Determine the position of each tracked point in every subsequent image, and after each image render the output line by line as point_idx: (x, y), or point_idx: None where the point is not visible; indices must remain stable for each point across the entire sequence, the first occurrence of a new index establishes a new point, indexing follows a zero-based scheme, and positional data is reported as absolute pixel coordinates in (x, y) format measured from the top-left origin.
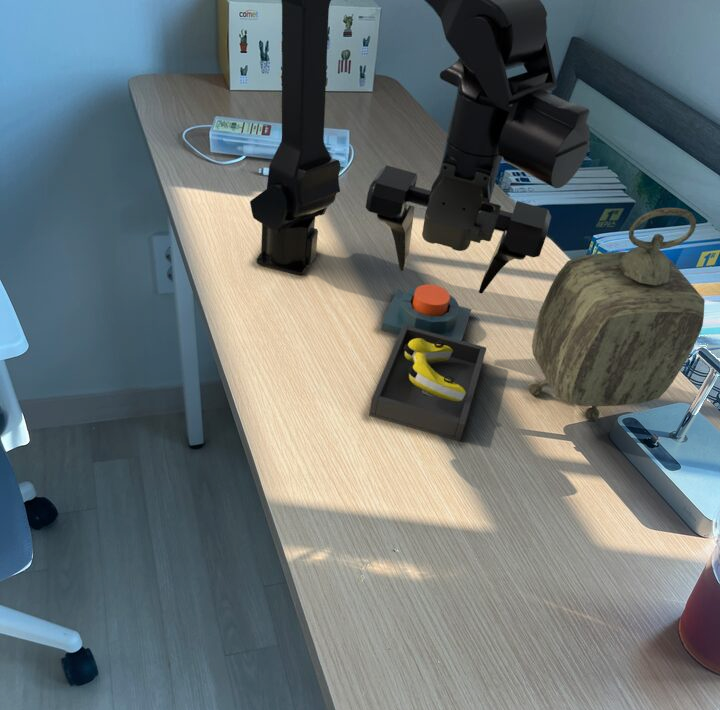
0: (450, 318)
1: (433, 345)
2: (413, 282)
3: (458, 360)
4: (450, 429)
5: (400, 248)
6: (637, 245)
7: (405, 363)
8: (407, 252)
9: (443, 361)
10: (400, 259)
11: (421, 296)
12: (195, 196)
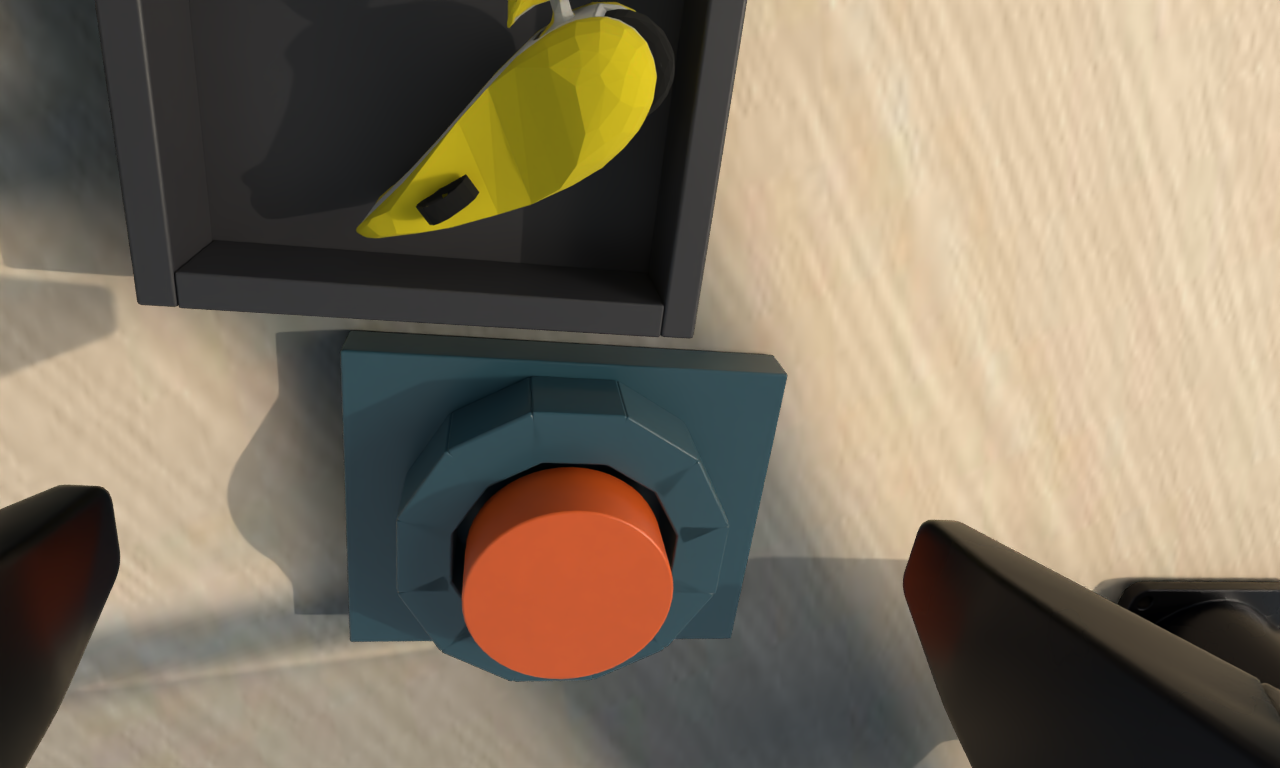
0: (429, 482)
1: (483, 196)
2: (654, 724)
3: (322, 232)
4: None
5: (1176, 666)
6: None
7: None
8: (988, 694)
9: None
10: (1046, 579)
11: (631, 560)
12: None
